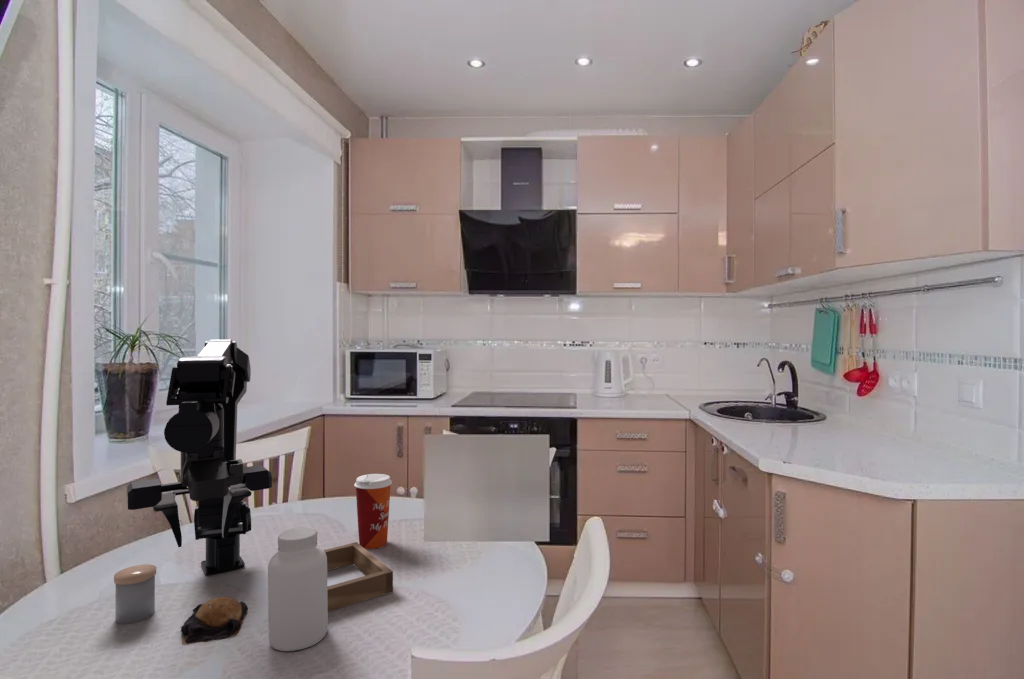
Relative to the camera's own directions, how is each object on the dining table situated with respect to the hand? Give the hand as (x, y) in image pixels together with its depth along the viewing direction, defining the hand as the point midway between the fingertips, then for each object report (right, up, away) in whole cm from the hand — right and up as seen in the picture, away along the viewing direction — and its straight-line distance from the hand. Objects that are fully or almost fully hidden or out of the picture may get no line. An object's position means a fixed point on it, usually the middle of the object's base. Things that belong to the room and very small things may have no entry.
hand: (202, 541), depth 81 cm
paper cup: (+18, -12, +30) cm, 38 cm away
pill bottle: (+17, -12, -4) cm, 21 cm away
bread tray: (+16, -12, +11) cm, 22 cm away
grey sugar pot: (-11, -12, +2) cm, 17 cm away
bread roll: (+2, -13, 0) cm, 13 cm away
